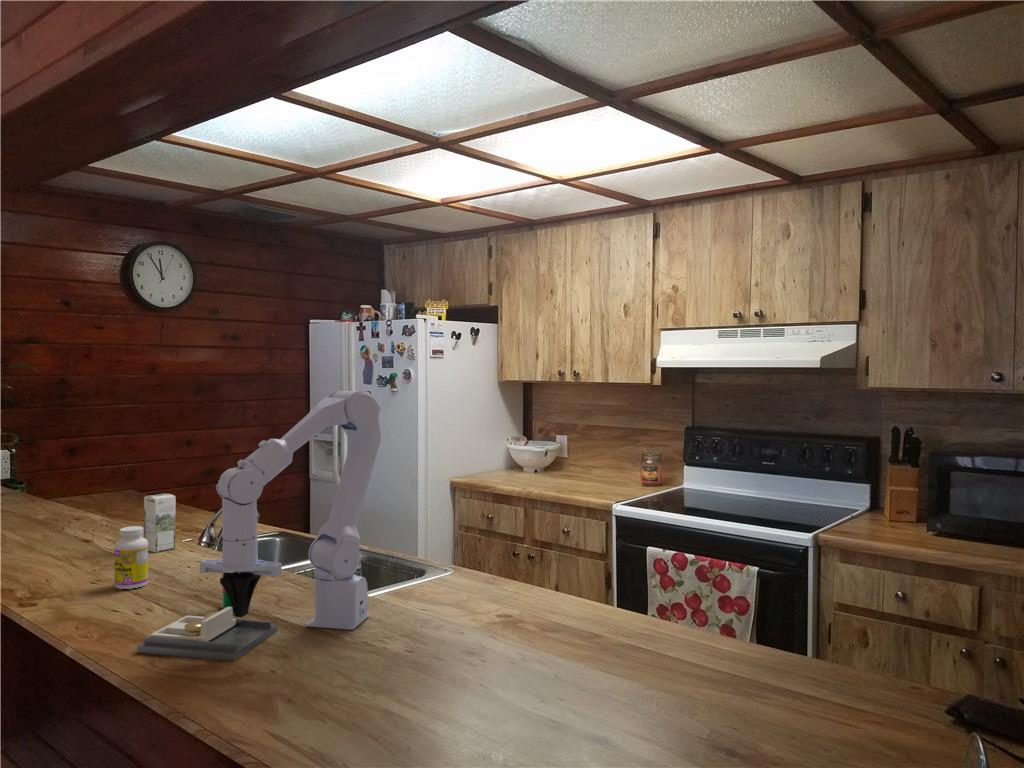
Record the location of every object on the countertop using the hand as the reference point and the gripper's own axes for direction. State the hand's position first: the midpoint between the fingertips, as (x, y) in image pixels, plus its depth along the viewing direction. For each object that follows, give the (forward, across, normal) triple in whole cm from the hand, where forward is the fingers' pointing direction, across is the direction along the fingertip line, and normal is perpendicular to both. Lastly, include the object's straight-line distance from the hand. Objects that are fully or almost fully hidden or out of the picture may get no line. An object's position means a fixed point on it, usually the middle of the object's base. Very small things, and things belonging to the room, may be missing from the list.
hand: (241, 615), depth 129 cm
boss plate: (+5, -6, 0) cm, 8 cm away
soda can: (+5, -12, +18) cm, 22 cm away
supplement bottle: (+5, -43, +27) cm, 51 cm away
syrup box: (+5, -59, +58) cm, 83 cm away
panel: (+4, -9, 0) cm, 10 cm away
